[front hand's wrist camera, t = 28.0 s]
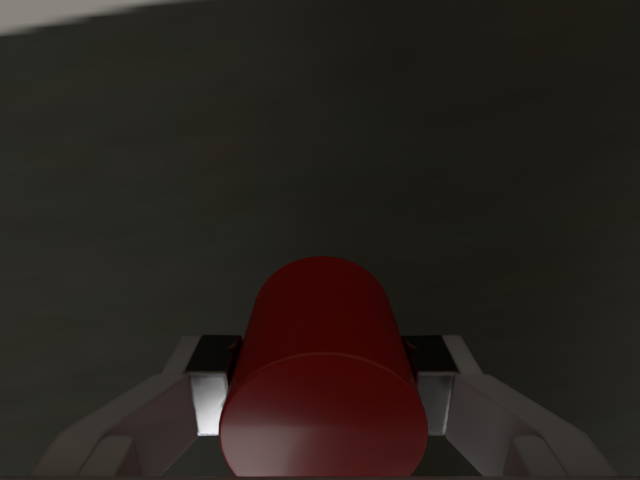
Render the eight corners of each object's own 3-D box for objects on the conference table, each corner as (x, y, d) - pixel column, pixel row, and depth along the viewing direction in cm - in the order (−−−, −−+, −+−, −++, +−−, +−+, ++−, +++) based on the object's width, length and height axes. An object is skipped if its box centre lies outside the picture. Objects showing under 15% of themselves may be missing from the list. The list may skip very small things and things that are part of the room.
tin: (225, 313, 12) (173, 434, 8) (328, 226, 11) (333, 311, 7) (317, 394, 13) (315, 539, 9) (418, 322, 12) (471, 446, 8)
